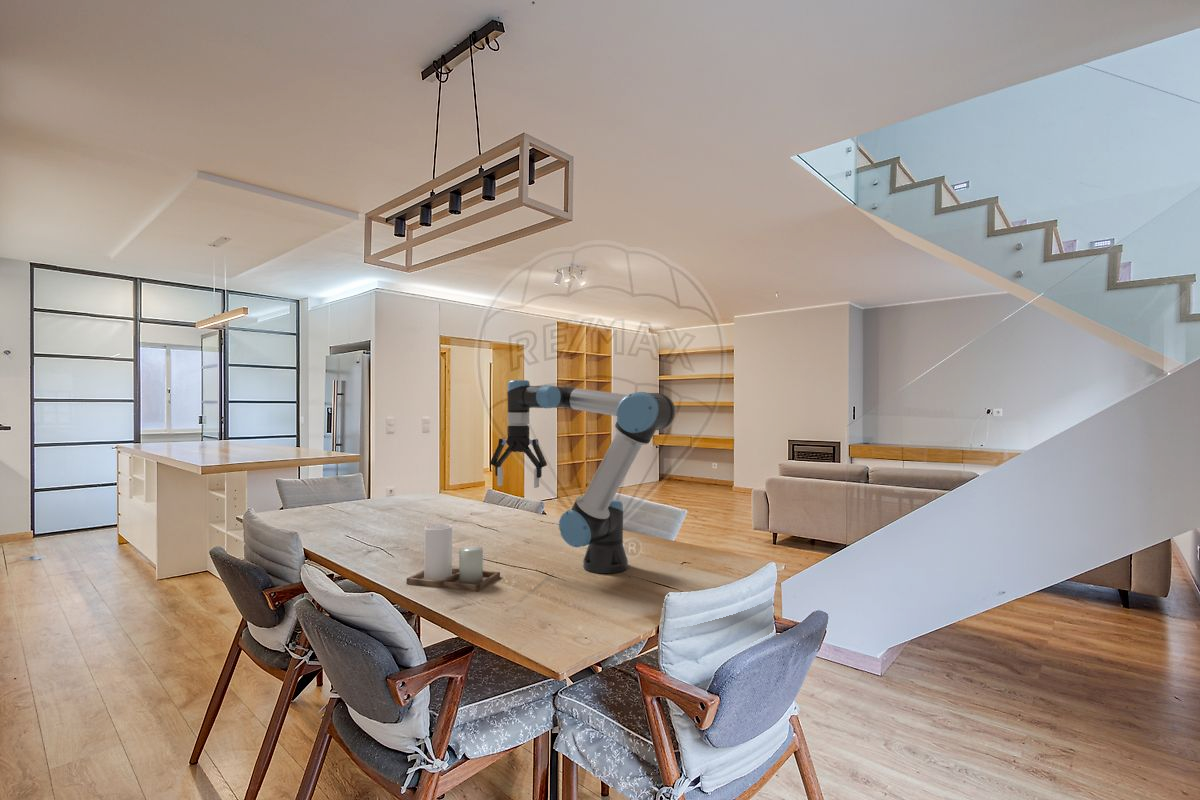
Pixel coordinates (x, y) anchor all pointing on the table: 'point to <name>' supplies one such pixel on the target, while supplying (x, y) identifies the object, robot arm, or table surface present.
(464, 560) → the pale green rounded cylinder
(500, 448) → the robot arm
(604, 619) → the table surface
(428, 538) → the cup
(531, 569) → the table surface
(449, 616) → the table surface
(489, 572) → the caddy
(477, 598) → the table surface
